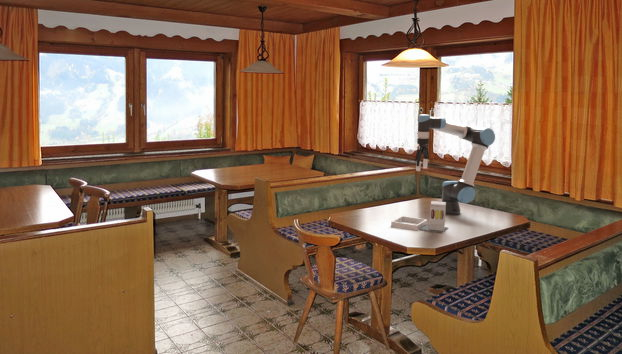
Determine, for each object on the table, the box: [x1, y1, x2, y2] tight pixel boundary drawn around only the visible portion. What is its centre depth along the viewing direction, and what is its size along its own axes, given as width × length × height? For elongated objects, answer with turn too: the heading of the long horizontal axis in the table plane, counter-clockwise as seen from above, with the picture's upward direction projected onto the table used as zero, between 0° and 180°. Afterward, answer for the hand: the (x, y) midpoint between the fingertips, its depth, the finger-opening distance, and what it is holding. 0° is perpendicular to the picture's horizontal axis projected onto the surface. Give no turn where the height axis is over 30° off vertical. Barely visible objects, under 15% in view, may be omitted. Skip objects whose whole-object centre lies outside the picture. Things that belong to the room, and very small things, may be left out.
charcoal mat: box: [419, 223, 449, 234], centre depth 339 cm, size 14×14×1 cm
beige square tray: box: [390, 215, 428, 231], centre depth 349 cm, size 19×18×3 cm
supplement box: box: [428, 200, 446, 232], centre depth 337 cm, size 10×9×17 cm
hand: (421, 169), depth 356 cm, fingers open, 13 cm apart
